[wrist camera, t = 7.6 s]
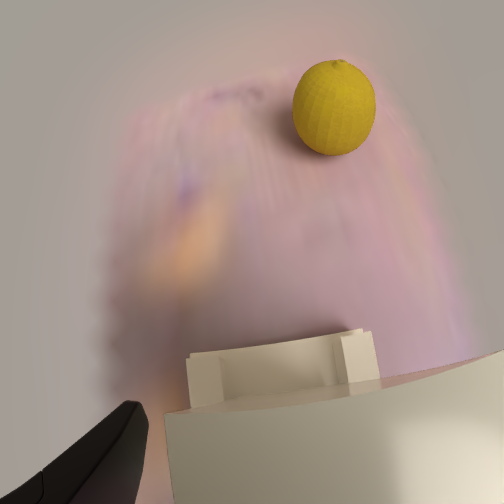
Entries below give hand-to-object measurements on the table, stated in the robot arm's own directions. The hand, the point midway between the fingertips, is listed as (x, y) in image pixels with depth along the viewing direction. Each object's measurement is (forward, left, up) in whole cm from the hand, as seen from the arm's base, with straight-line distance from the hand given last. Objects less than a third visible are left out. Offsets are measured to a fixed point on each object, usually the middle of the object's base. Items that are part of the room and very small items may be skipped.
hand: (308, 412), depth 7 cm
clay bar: (-1, 0, -8) cm, 8 cm away
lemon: (+17, -6, -9) cm, 20 cm away
